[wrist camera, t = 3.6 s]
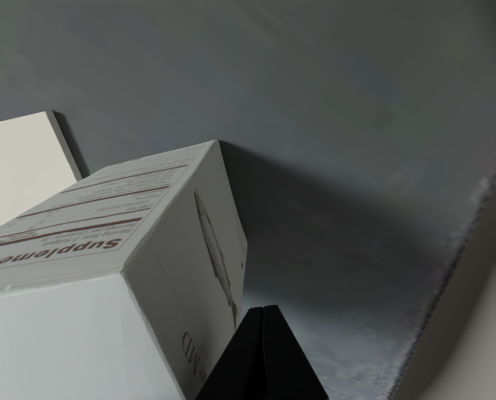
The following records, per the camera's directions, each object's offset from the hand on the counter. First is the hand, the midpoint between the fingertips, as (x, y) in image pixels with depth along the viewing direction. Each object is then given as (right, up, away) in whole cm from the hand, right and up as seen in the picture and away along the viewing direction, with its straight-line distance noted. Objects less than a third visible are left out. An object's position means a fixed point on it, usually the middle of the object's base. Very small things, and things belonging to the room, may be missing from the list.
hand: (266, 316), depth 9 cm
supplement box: (-5, +3, +10) cm, 12 cm away
